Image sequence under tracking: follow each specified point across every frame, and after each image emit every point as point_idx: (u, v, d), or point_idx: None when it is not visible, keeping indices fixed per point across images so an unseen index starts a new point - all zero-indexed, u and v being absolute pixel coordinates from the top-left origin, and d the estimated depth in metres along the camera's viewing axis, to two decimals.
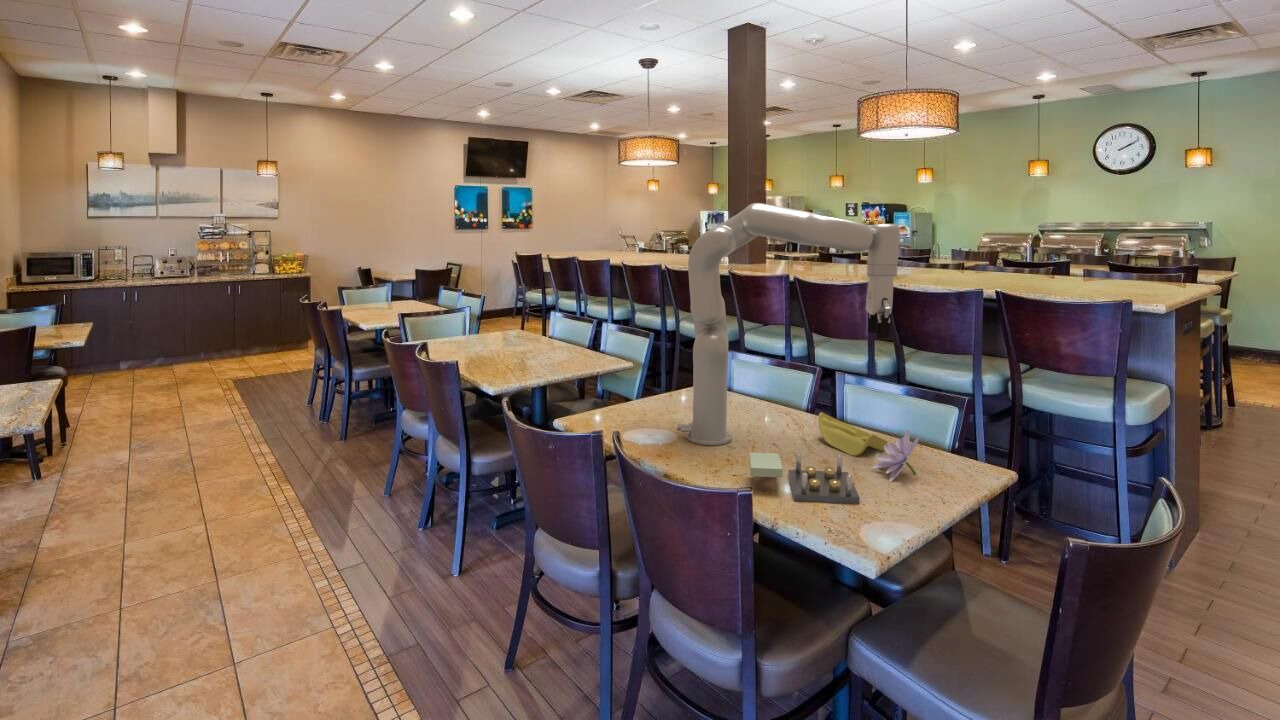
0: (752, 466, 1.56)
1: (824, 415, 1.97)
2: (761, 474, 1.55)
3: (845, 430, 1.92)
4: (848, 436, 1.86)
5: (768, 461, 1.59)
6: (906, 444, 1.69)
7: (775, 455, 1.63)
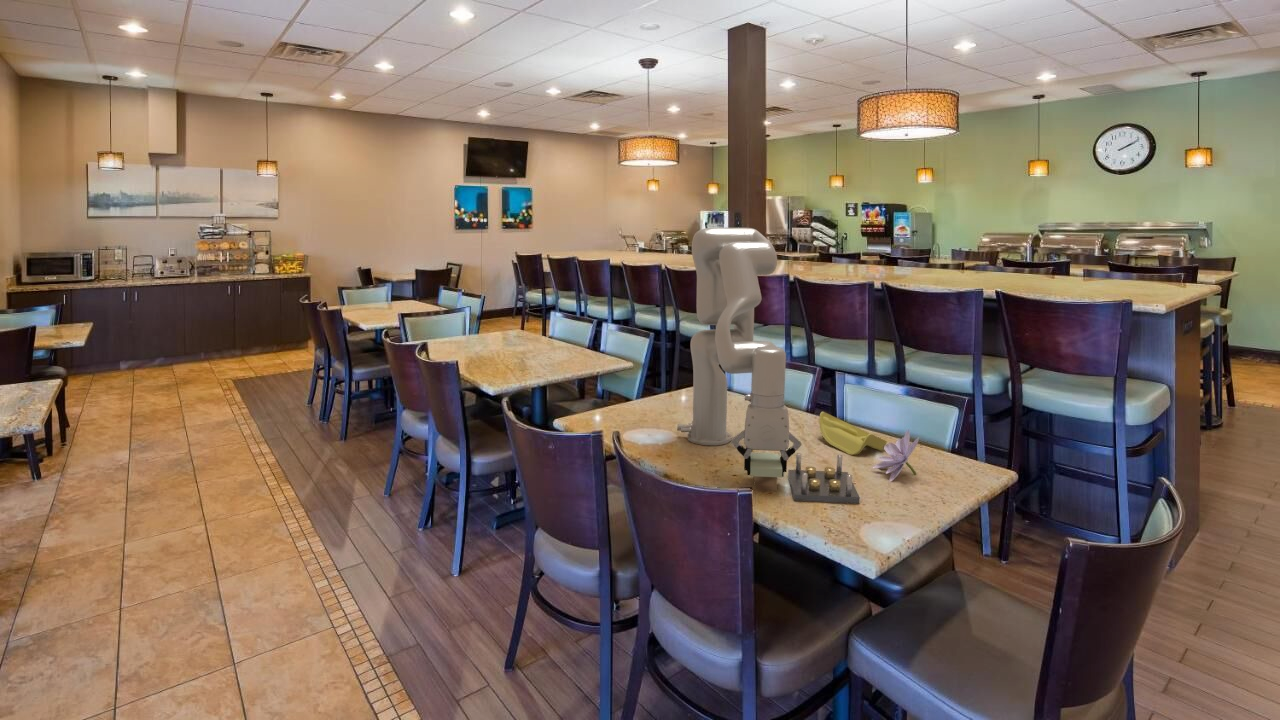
0: (752, 466, 1.56)
1: (825, 414, 1.98)
2: (761, 474, 1.55)
3: (845, 429, 1.92)
4: (847, 435, 1.87)
5: (768, 461, 1.59)
6: (906, 444, 1.69)
7: (775, 455, 1.63)
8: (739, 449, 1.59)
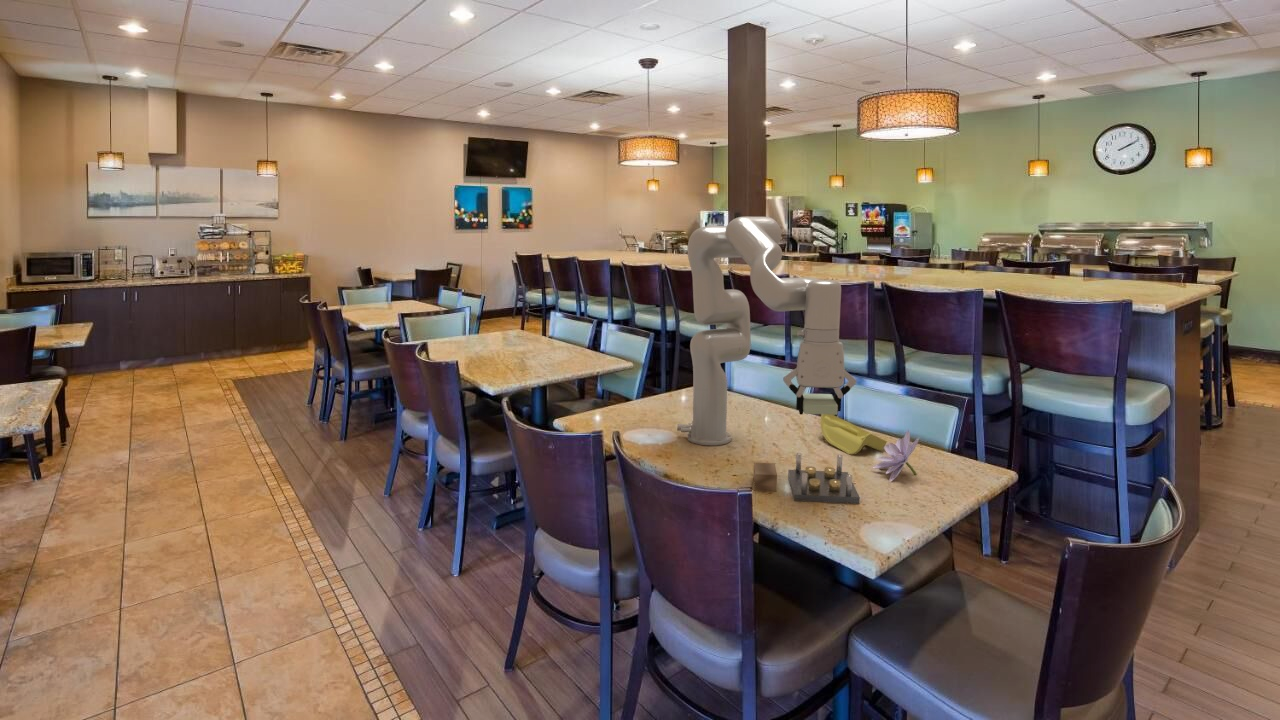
0: (806, 403, 1.50)
1: (827, 414, 1.99)
2: (815, 411, 1.50)
3: (846, 429, 1.93)
4: (847, 435, 1.88)
5: (821, 400, 1.54)
6: (906, 444, 1.69)
7: (828, 395, 1.58)
8: (791, 387, 1.54)
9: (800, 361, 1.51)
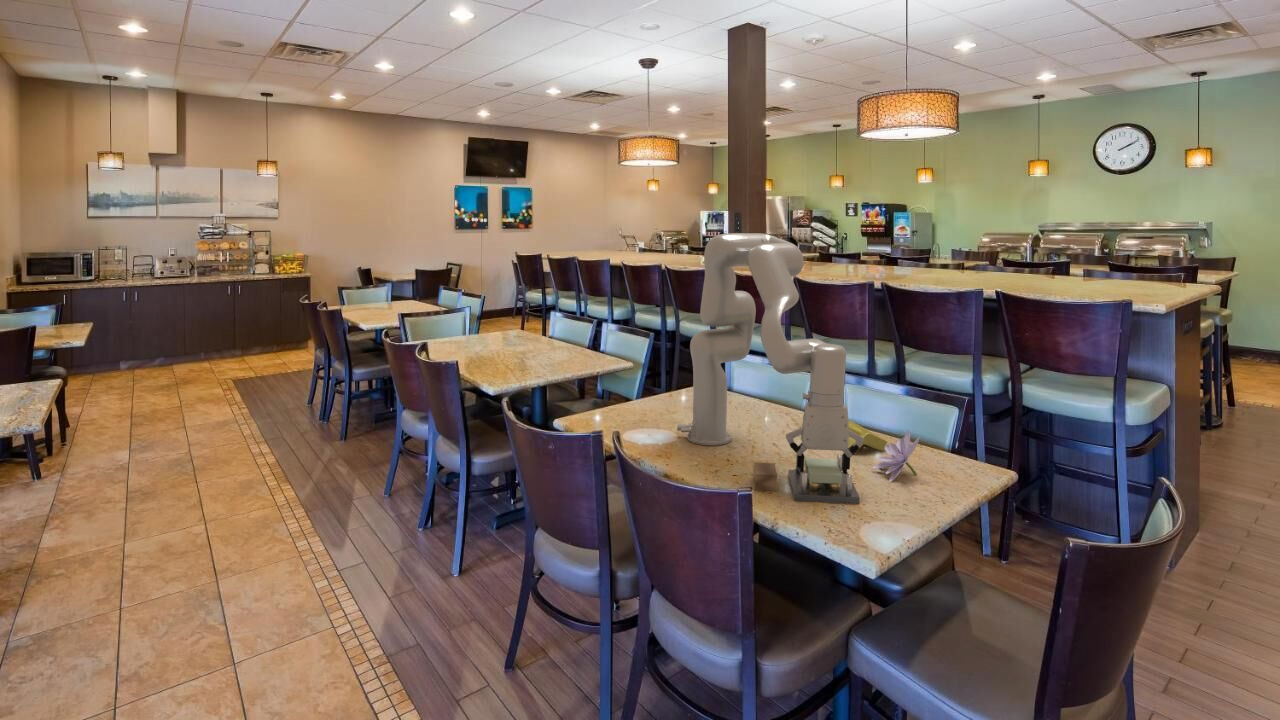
0: (811, 472, 1.53)
1: None
2: (820, 480, 1.52)
3: None
4: None
5: (825, 467, 1.56)
6: (907, 445, 1.68)
7: (831, 461, 1.61)
8: (792, 446, 1.56)
9: (805, 424, 1.54)
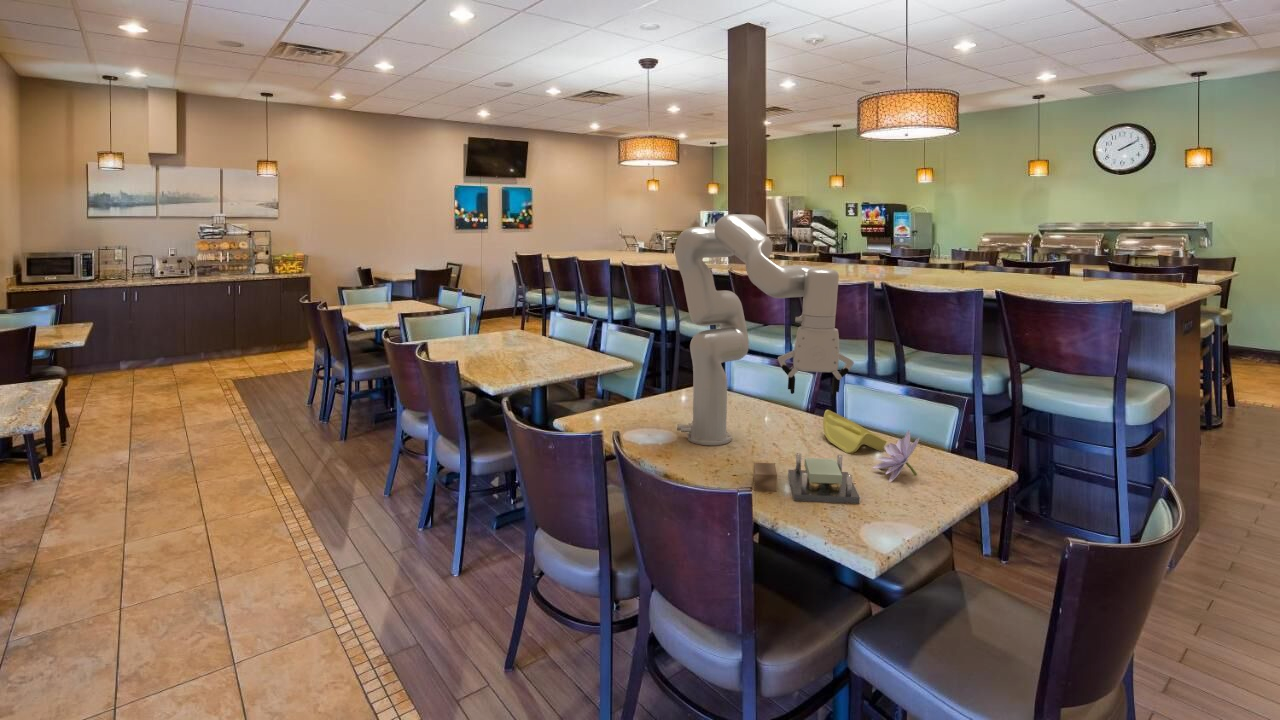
0: (811, 472, 1.53)
1: (830, 413, 2.00)
2: (820, 480, 1.52)
3: (848, 428, 1.94)
4: (847, 434, 1.88)
5: (825, 467, 1.56)
6: (907, 445, 1.68)
7: (831, 461, 1.61)
8: (784, 368, 1.61)
9: (797, 346, 1.58)
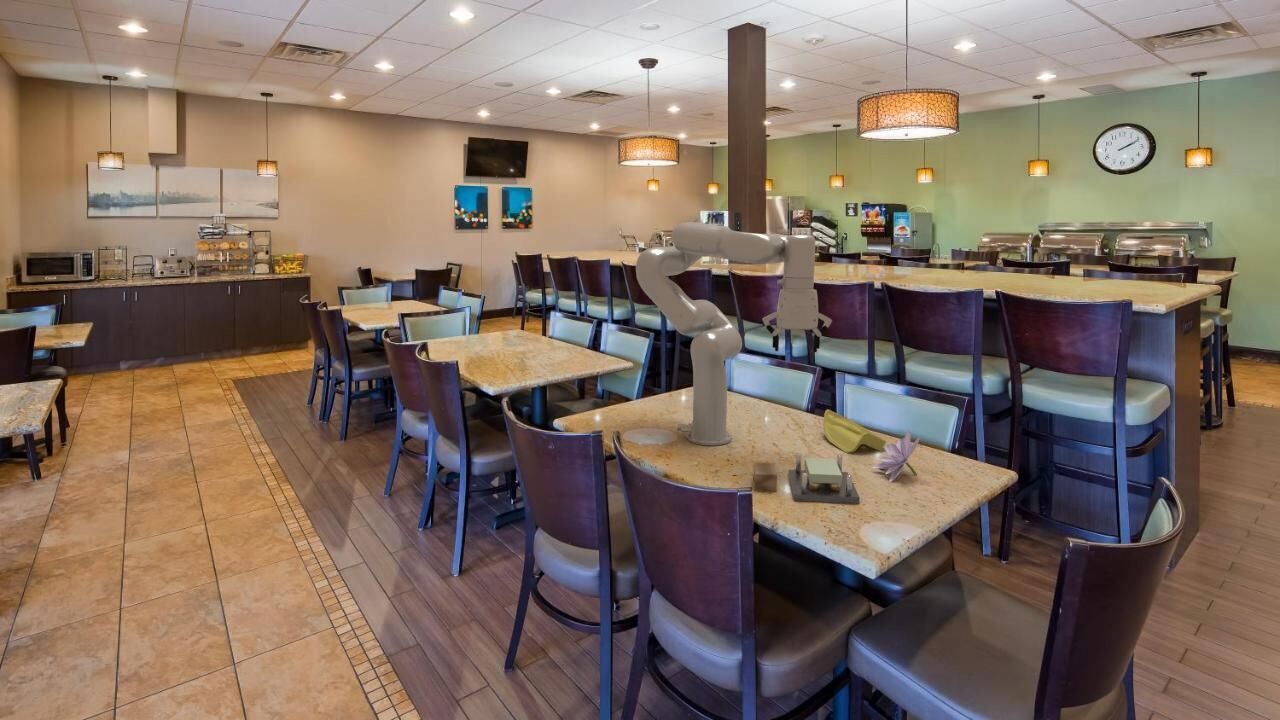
0: (811, 472, 1.53)
1: (831, 412, 2.00)
2: (820, 480, 1.52)
3: (848, 428, 1.94)
4: (847, 434, 1.89)
5: (825, 467, 1.56)
6: (907, 445, 1.68)
7: (831, 461, 1.61)
8: (768, 327, 1.75)
9: (779, 306, 1.72)
